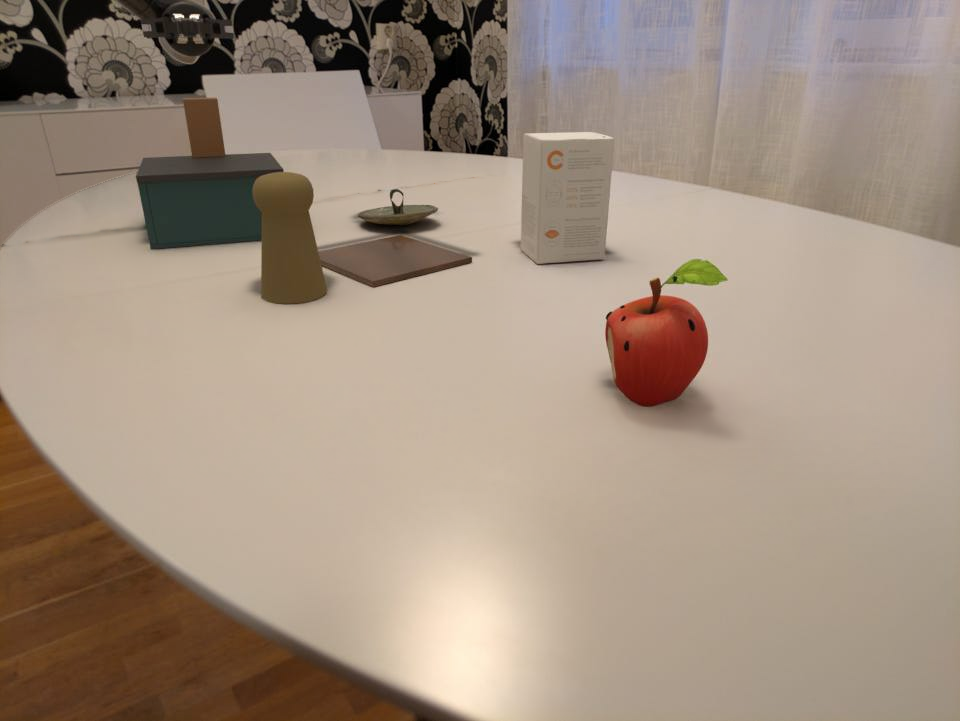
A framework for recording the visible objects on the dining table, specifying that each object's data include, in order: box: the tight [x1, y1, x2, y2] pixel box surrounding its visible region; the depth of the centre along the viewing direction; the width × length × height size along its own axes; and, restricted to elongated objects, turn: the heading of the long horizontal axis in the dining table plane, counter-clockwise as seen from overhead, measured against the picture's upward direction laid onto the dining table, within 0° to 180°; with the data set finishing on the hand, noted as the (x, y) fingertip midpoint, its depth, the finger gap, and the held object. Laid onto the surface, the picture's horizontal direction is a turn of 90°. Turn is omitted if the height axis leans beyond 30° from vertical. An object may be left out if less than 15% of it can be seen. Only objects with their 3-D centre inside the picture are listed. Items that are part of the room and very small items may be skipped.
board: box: [318, 234, 473, 288], centre depth 73 cm, size 13×13×1 cm
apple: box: [604, 258, 729, 408], centre depth 42 cm, size 8×7×10 cm
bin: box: [137, 177, 262, 250], centre depth 83 cm, size 16×14×8 cm
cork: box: [252, 171, 328, 305], centre depth 61 cm, size 6×6×11 cm
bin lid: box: [135, 97, 285, 184], centre depth 80 cm, size 16×14×8 cm
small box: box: [520, 131, 615, 265], centre depth 73 cm, size 8×6×13 cm
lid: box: [357, 188, 439, 226], centre depth 88 cm, size 11×10×5 cm
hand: (188, 27), depth 90 cm, fingers closed
